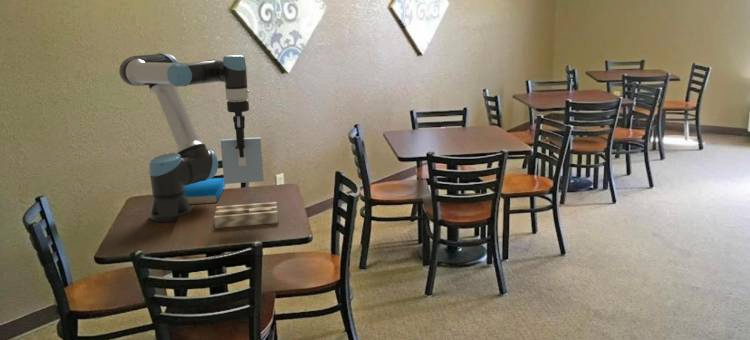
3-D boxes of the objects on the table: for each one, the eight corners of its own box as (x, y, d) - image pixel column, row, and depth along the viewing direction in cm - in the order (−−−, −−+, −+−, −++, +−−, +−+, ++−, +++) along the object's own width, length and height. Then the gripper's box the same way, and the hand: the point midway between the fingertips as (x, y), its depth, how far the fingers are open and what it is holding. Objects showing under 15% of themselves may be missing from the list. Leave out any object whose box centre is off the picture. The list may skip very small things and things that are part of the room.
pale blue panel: (224, 183, 217) (220, 140, 213) (224, 182, 219) (220, 139, 215) (263, 181, 220) (260, 138, 215) (263, 179, 222) (260, 137, 217)
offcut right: (249, 222, 217) (248, 211, 216) (250, 220, 219) (249, 208, 218) (272, 221, 218) (271, 209, 217) (272, 218, 221) (271, 207, 220)
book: (174, 196, 243) (186, 179, 267) (175, 206, 245) (187, 188, 269) (217, 194, 245) (225, 176, 269) (218, 204, 246) (226, 186, 270)
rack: (215, 231, 213) (214, 217, 212) (217, 220, 225) (216, 206, 223) (278, 226, 217) (277, 212, 216) (277, 215, 228) (276, 201, 227)
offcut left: (218, 225, 215) (217, 212, 214) (219, 223, 217) (217, 210, 216) (244, 223, 217) (243, 210, 215) (244, 221, 219) (243, 208, 218)
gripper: (248, 102, 205) (253, 169, 211) (248, 96, 219) (253, 159, 226) (225, 103, 204) (231, 170, 210) (227, 97, 218) (232, 160, 224)
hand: (242, 164), depth 218 cm, fingers closed on pale blue panel, 2 cm apart
